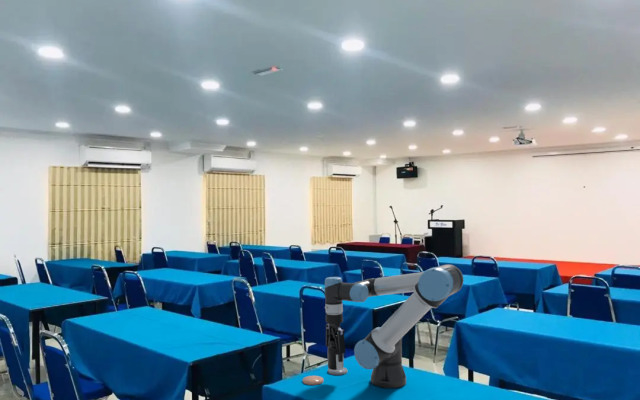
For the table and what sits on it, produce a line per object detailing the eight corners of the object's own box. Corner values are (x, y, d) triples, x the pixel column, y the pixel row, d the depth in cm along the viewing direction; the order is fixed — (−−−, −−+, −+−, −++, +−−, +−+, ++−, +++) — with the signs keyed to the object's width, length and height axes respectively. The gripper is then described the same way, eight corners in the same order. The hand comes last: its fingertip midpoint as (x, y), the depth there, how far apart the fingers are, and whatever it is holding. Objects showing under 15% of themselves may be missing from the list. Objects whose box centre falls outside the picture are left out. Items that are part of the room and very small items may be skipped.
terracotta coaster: (326, 383, 210) (326, 381, 210) (307, 386, 206) (307, 384, 206) (318, 376, 218) (318, 374, 218) (299, 379, 214) (299, 377, 214)
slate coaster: (350, 373, 222) (350, 371, 222) (333, 376, 218) (333, 374, 218) (341, 367, 230) (341, 365, 230) (324, 370, 226) (324, 368, 226)
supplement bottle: (342, 370, 207) (341, 342, 207) (326, 370, 208) (325, 341, 208) (344, 365, 213) (343, 338, 214) (329, 365, 215) (328, 337, 215)
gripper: (316, 310, 219) (318, 361, 218) (336, 318, 201) (338, 374, 200) (331, 308, 222) (333, 359, 221) (352, 316, 204) (354, 371, 203)
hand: (335, 366), depth 211 cm, fingers closed on supplement bottle, 7 cm apart
